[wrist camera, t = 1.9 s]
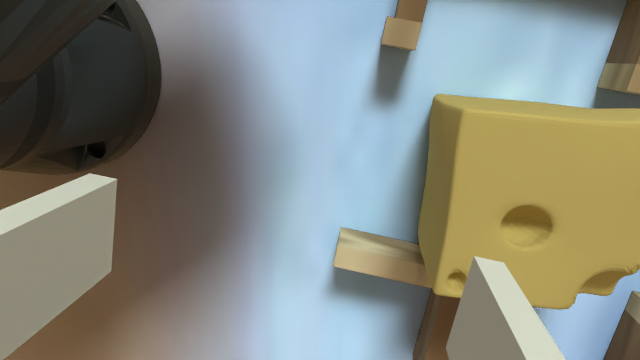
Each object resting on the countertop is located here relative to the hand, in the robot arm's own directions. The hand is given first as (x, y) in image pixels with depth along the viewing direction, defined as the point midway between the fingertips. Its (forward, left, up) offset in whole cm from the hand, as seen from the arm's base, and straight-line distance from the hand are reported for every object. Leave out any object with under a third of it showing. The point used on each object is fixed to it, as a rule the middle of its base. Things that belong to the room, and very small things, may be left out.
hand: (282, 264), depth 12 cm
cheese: (+11, 0, -21) cm, 24 cm away
